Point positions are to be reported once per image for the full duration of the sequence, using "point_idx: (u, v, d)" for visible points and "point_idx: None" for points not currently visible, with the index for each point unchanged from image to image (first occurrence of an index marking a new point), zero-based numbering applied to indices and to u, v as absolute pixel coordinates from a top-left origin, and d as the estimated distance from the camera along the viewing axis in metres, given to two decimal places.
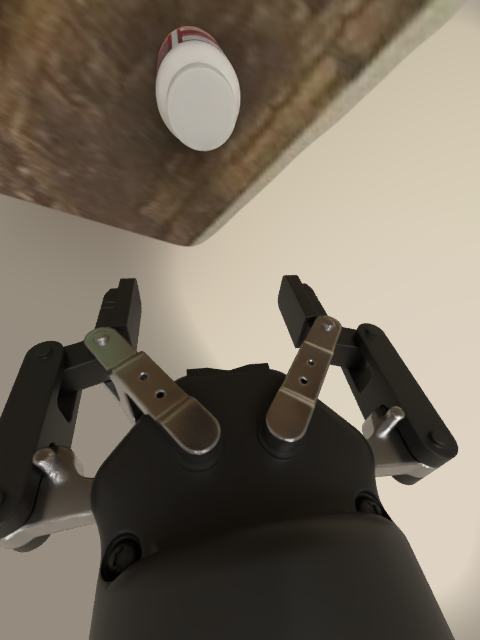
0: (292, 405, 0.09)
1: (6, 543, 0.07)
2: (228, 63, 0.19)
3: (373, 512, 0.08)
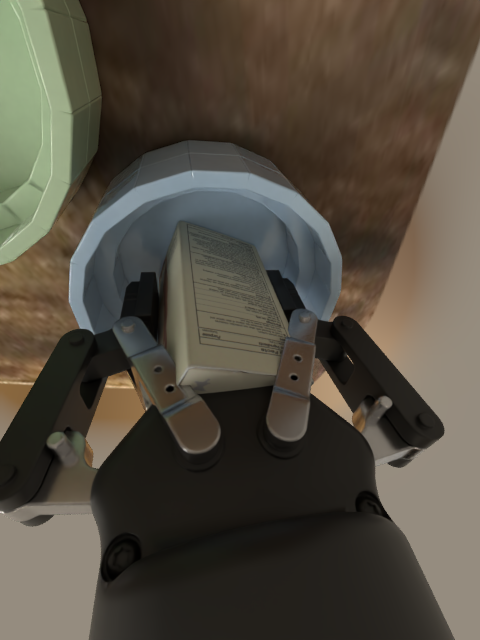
0: (289, 404, 0.09)
1: (12, 516, 0.07)
2: None
3: (373, 512, 0.08)
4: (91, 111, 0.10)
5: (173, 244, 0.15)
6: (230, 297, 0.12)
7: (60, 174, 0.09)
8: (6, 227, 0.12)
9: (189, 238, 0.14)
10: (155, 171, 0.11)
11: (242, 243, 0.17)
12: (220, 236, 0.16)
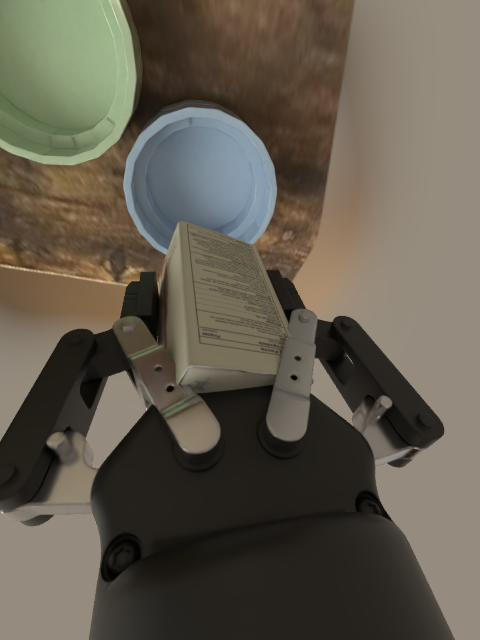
0: (289, 404, 0.09)
1: (12, 515, 0.07)
2: None
3: (373, 512, 0.08)
4: (140, 80, 0.21)
5: (173, 244, 0.15)
6: (230, 297, 0.12)
7: (128, 107, 0.20)
8: (91, 144, 0.23)
9: (189, 238, 0.14)
10: (171, 110, 0.21)
11: (242, 243, 0.17)
12: (220, 236, 0.16)
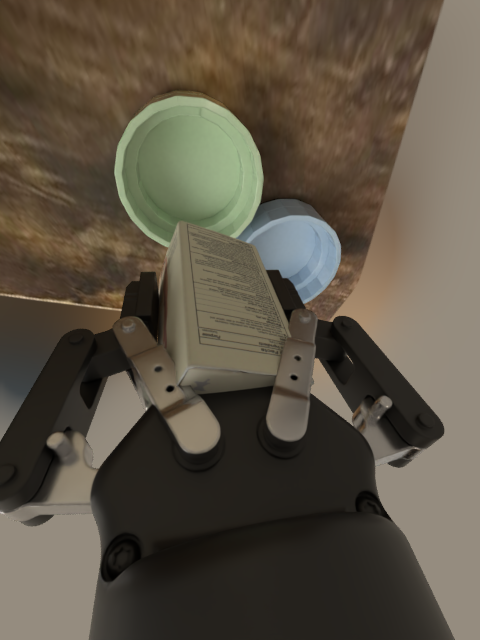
0: (289, 404, 0.09)
1: (12, 515, 0.07)
2: None
3: (373, 512, 0.08)
4: None
5: (173, 244, 0.15)
6: (230, 297, 0.12)
7: (250, 217, 0.29)
8: None
9: (189, 238, 0.14)
10: (275, 214, 0.30)
11: (242, 243, 0.17)
12: (220, 236, 0.16)
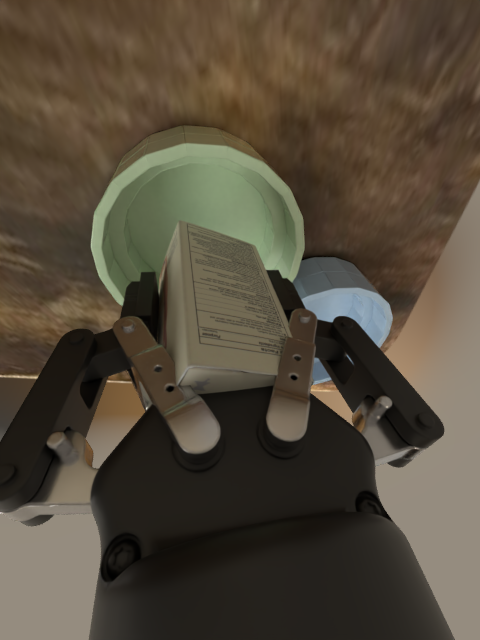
0: (289, 404, 0.09)
1: (12, 515, 0.07)
2: None
3: (373, 512, 0.08)
4: None
5: (173, 244, 0.15)
6: (230, 297, 0.12)
7: None
8: None
9: (189, 238, 0.14)
10: (312, 284, 0.23)
11: (242, 243, 0.17)
12: (220, 236, 0.16)
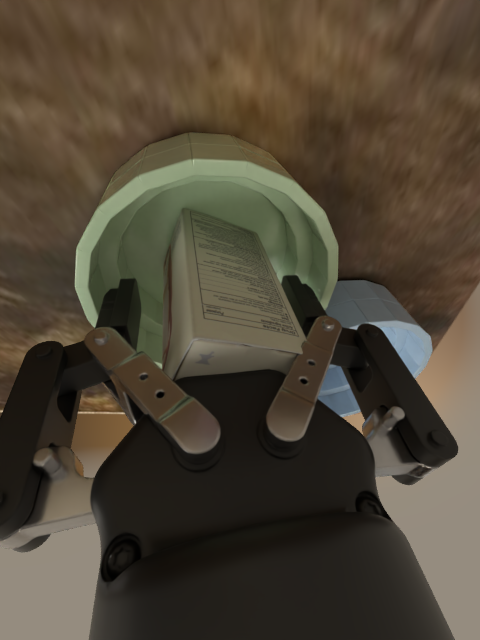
0: (292, 405, 0.09)
1: (6, 543, 0.07)
2: None
3: (373, 512, 0.08)
4: None
5: (177, 231, 0.15)
6: (232, 278, 0.12)
7: None
8: None
9: (192, 224, 0.15)
10: (341, 316, 0.19)
11: (244, 230, 0.17)
12: (223, 223, 0.16)
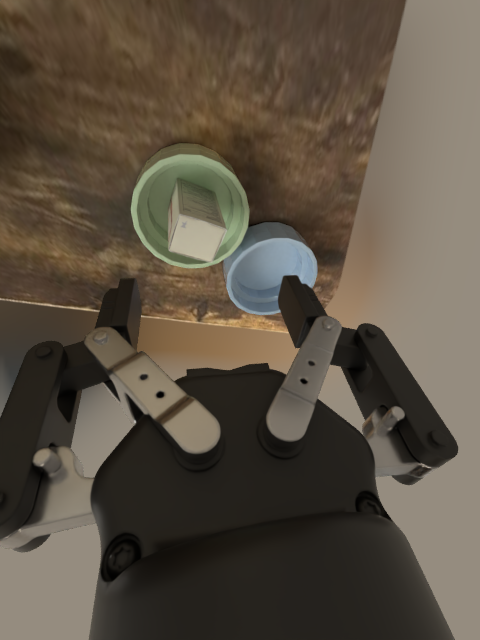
0: (292, 405, 0.09)
1: (6, 543, 0.07)
2: None
3: (373, 512, 0.08)
4: None
5: (174, 188, 0.33)
6: (197, 203, 0.30)
7: (239, 240, 0.35)
8: None
9: (181, 184, 0.32)
10: (260, 236, 0.37)
11: (207, 190, 0.35)
12: (196, 186, 0.34)
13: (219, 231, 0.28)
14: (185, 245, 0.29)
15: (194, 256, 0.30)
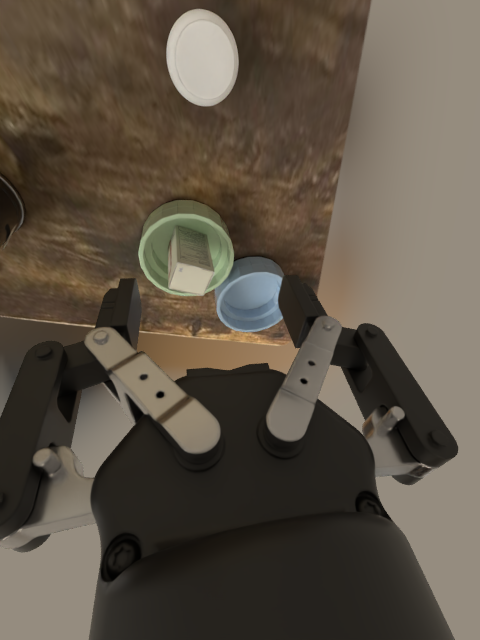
0: (292, 405, 0.09)
1: (6, 543, 0.07)
2: (167, 46, 0.23)
3: (373, 512, 0.08)
4: None
5: (173, 234, 0.41)
6: (191, 250, 0.37)
7: (226, 274, 0.43)
8: None
9: (179, 231, 0.40)
10: (244, 270, 0.44)
11: (200, 233, 0.42)
12: (191, 231, 0.42)
13: (209, 273, 0.36)
14: (181, 284, 0.36)
15: (189, 291, 0.38)
